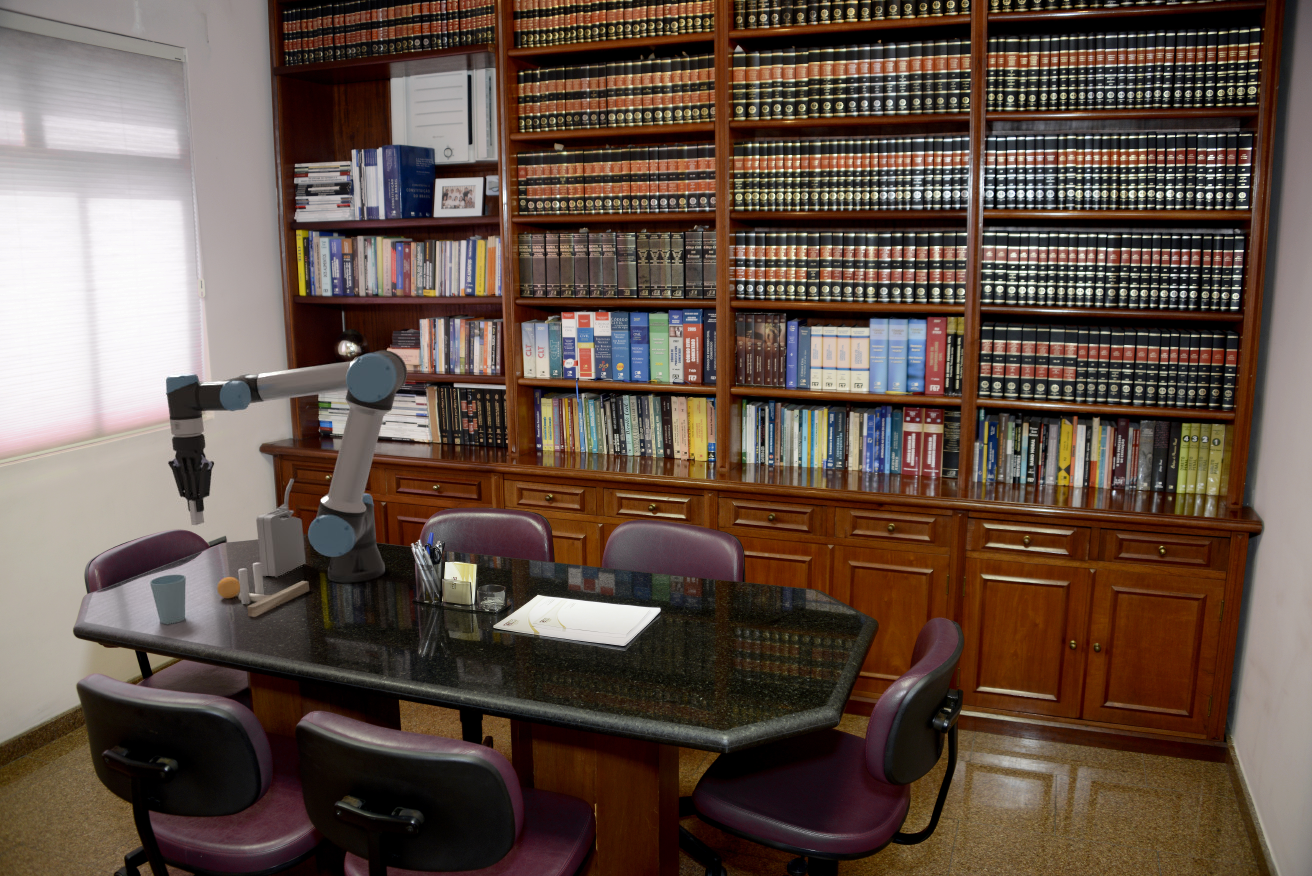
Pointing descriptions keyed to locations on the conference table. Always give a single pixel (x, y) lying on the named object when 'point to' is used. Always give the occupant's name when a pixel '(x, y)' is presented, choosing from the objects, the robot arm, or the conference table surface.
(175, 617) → the cup
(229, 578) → the ball
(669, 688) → the conference table surface
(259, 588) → the pin
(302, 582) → the beige wooden bar
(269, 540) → the fuel canister
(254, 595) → the front pin
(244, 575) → the pin
